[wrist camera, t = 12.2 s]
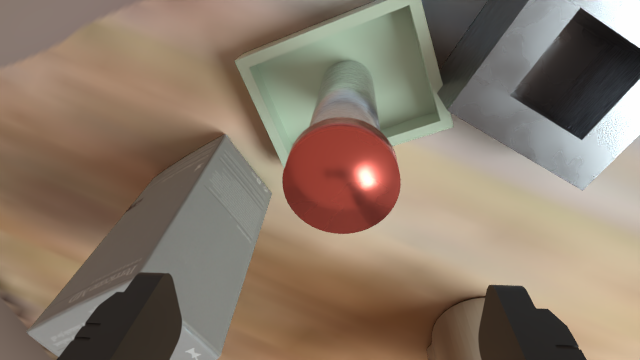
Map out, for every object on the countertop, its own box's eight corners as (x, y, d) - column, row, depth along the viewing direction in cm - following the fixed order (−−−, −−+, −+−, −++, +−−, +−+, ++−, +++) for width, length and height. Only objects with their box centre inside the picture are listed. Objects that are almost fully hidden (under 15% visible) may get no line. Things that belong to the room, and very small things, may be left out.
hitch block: (543, 150, 31) (582, 190, 26) (430, 83, 29) (447, 110, 24) (657, 25, 26) (732, 42, 21) (531, -63, 25) (579, -69, 20)
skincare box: (227, 130, 32) (127, 262, 18) (280, 200, 35) (228, 363, 21) (147, 179, 35) (6, 327, 21) (202, 241, 37) (109, 411, 23)
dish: (293, 164, 33) (288, 178, 31) (243, 53, 29) (234, 61, 27) (446, 114, 30) (453, 126, 28) (413, -15, 26) (417, -12, 24)
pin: (358, 129, 31) (360, 250, 18) (302, 97, 30) (263, 201, 17) (394, 74, 28) (424, 167, 16) (335, 39, 28) (317, 107, 15)
